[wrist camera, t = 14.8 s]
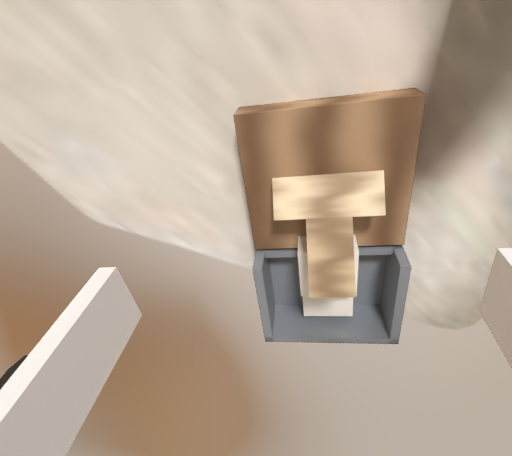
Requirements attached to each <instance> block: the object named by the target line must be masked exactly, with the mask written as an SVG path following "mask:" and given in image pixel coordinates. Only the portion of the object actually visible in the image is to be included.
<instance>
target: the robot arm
mask: <svg viewBox="0 0 512 456" xmlns="http://www.w3.org/2000/svg"><path fill="white" fill-rule="evenodd" d="M479 311H480V313H481V314H482V316H483V318H484V320H485V321H486V323H487V325H488V327H489V328H490V330H491V332H492V334H493V335H494V337H495V339H496V341H497V343H498V344H499V346H500V348H501V350H502V352H503V353H504V355H505V357H506V358H507V360H508V362H509V364H510V366H511V367H512V248H498V249H497V253H496V256H495V259H494V263H493V266H492V270H491V273H490V276H489V280H488V283H487V286H486V290H485V293H484V297H483V300H482V303H481V307H480V310H479ZM141 316H142V314H141V312H140V311H139V309H138V307H137V305H136V303H135V301H134V299H133V297H132V295H131V294H130V292H129V290H128V288H127V286H126V284H125V282H124V281H123V279H122V277H121V275H120V273H119V271H118V270H117V268H116V267H107V268H99V269H98V270H97V271H96V272H95V273H94V275H93V276H92V277H91V278H90V280H89V281H88V282H87V284H86V285H85V286H84V287H83V288H82V290H81V291H80V292H79V293H78V294H77V296H76V297H75V298H74V299H73V301H72V302H71V303H70V304H69V306H68V307H67V308H66V309H65V311H64V312H63V313H62V314H61V316H60V317H59V318H58V319H57V320H56V322H55V323H54V324H53V325H52V327H51V328H50V329H49V330H48V332H47V333H46V334H45V335H44V336H43V338H42V339H41V340H40V342H39V343H38V344H37V345H36V347H35V348H34V349H33V350H32V351H31V353H30V354H29V355H28V356H27V355H25V356H24V357H23V358H21V359H20V360H19V361H18V362H17V363H15V364H14V365H13V366H12V367H11V368H9V369H8V370H7V372H6V373H5V374H4V375H3V376H2V377H1V379H0V456H65V455H66V454H67V452H68V450H69V448H70V446H71V444H72V443H73V441H74V439H75V437H76V435H77V433H78V432H79V430H80V428H81V426H82V424H83V422H84V420H85V419H86V417H87V415H88V413H89V411H90V410H91V408H92V406H93V404H94V402H95V400H96V399H97V397H98V395H99V393H100V391H101V389H102V388H103V386H104V384H105V382H106V380H107V378H108V376H109V375H110V373H111V371H112V369H113V367H114V365H115V364H116V362H117V360H118V358H119V356H120V354H121V353H122V351H123V349H124V347H125V345H126V343H127V342H128V340H129V338H130V336H131V334H132V332H133V331H134V329H135V327H136V325H137V323H138V321H139V320H140V318H141Z"/></svg>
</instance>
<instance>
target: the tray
mask: <svg viewBox="0 0 512 456" xmlns="http://www.w3.org/2000/svg"><path fill="white" fill-rule="evenodd" d="M358 249H359V262H358V280H357V296H356V297H353V315H352V316H304V311H303V298H302V296H301V291H300V278H299V265H298V248H280V249H257V250H256V255H255V260H254V265H253V274H254V280H255V286H256V292H257V297H258V303H259V308H260V314H261V320H262V325H263V331H264V336H265V341H266V342H319V343H368V344H398V342H399V336H400V330H401V324H402V319H403V313H404V307H405V301H406V295H407V289H408V283H409V277H410V272H411V265H410V262H409V260H408V258H407V255H406V253H405V251H404V248H403V246H402V245H376V246H358Z"/></svg>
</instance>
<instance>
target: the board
mask: <svg viewBox="0 0 512 456" xmlns="http://www.w3.org/2000/svg"><path fill="white" fill-rule="evenodd" d="M425 98H426V95H425V94H424V93H422V92H421V91H419V90H418V89H416V88H410V89H401V90H392V91H383V92H374V93H365V94H355V95H346V96H337V97H328V98H319V99H310V100H301V101H292V102H283V103H274V104H265V105H256V106H247V107H239V108H238V109H237V111H236V112H235V114H234V115H233V116H234V122H235V128H236V134H237V140H238V146H239V152H240V159H241V165H242V171H243V177H244V183H245V189H246V195H247V201H248V207H249V213H250V219H251V225H252V231H253V237H254V244H255V249H280V248H298V237H299V236H307V234H306V219H304V220H282V221H274V211H273V188H272V178H280V177H295V176H309V175H324V174H338V173H352V172H367V171H381V170H384V184H385V207H386V215H385V216H369V217H353V234H355V237H356V241H357V245H358V246H376V245H404V241H405V235H406V228H407V221H408V214H409V207H410V201H411V194H412V187H413V180H414V173H415V166H416V160H417V153H418V146H419V139H420V132H421V125H422V119H423V112H424V105H425Z"/></svg>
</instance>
